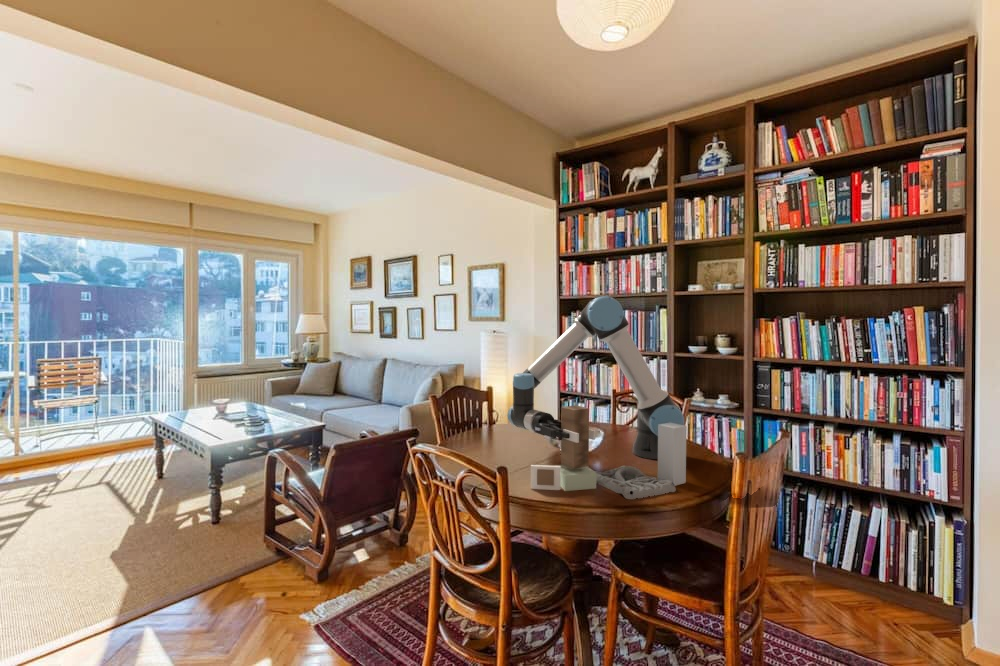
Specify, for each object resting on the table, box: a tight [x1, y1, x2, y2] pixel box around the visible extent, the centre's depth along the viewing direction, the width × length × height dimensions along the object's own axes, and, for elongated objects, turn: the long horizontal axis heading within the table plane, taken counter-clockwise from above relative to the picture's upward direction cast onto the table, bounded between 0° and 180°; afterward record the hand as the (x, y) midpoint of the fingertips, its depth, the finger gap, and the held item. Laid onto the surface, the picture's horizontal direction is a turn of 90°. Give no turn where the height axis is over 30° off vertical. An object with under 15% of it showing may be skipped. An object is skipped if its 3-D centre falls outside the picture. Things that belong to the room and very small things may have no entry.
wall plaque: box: [593, 464, 677, 500], centre depth 152 cm, size 24×19×4 cm
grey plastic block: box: [657, 422, 687, 487], centre depth 153 cm, size 6×6×18 cm
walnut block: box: [560, 404, 590, 469], centre depth 151 cm, size 6×6×18 cm
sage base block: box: [553, 464, 597, 492], centre depth 151 cm, size 10×10×5 cm
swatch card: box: [530, 464, 561, 491], centre depth 147 cm, size 2×9×7 cm, turn 83°
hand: (586, 436), depth 147 cm, fingers closed on walnut block, 6 cm apart
